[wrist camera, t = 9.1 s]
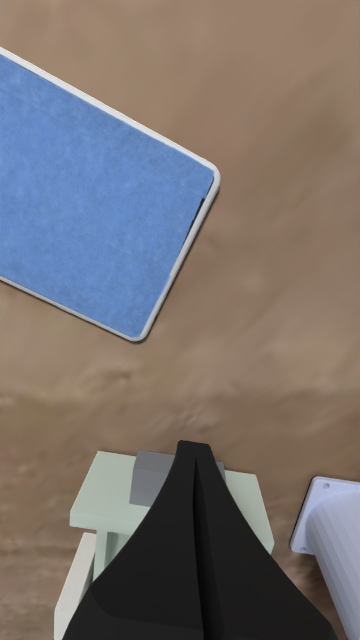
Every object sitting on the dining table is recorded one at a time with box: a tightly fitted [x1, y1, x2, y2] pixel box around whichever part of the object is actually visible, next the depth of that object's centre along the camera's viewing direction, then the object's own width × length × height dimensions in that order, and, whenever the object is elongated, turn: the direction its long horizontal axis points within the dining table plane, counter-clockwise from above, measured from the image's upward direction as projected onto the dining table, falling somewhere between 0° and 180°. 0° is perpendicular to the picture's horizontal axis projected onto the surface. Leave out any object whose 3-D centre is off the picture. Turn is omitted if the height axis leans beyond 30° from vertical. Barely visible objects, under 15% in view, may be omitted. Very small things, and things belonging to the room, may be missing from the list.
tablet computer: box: [0, 47, 221, 341], centre depth 17 cm, size 19×13×1 cm, turn 64°
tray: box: [70, 450, 274, 581], centre depth 21 cm, size 13×19×5 cm
